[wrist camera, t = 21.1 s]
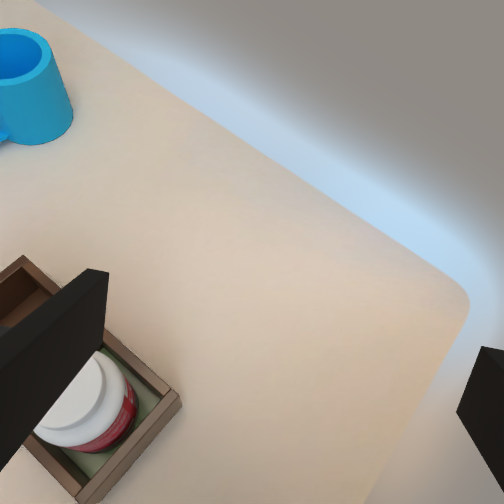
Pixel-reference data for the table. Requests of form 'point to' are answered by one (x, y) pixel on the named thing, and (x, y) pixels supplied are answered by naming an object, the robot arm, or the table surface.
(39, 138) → the mug
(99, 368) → the pill bottle
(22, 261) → the compartment box
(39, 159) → the table surface
